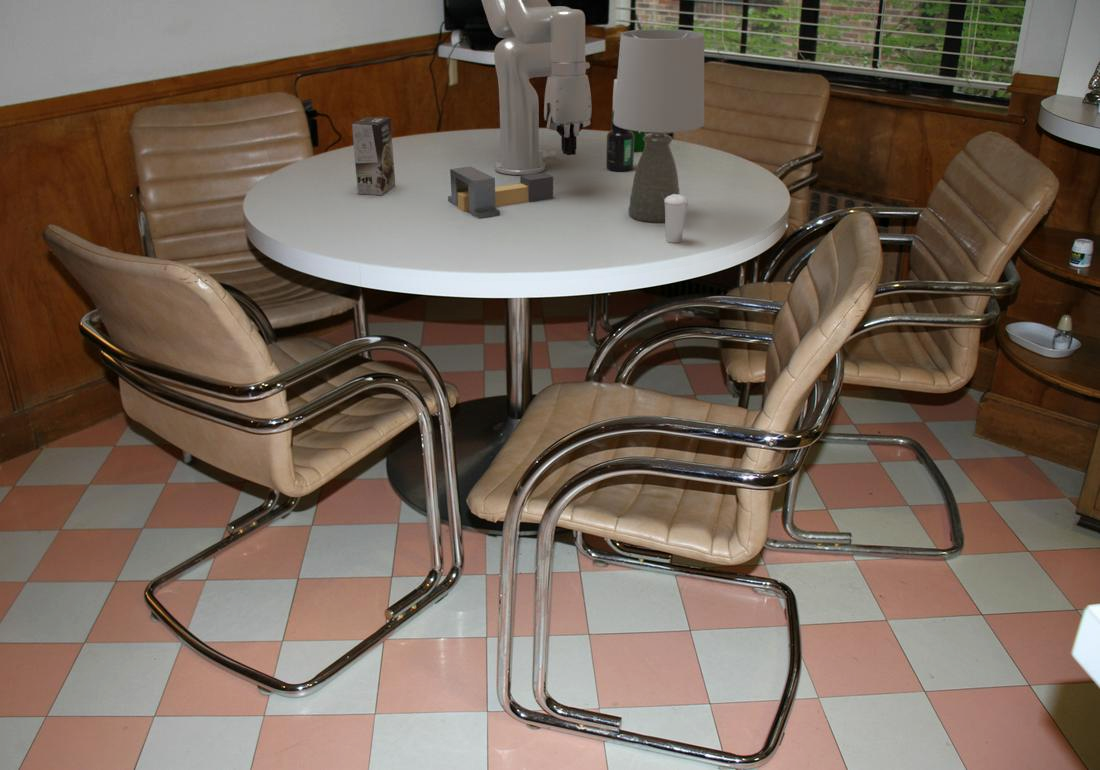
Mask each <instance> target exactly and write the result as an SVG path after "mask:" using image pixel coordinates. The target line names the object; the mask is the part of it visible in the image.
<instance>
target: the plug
mask: <svg viewBox="0 0 1100 770" xmlns="http://www.w3.org/2000/svg"><path fill="white" fill-rule="evenodd" d="M519 177H520V178H519V179H520V183H516V184H509V185H502V186H501V185H500V186H495V201H496V208H497V207H501V206H508V205H509V206H510V205H514V204H515V205H516V204H521V203H526V202H529V203H532V202H533V203H534V202H538V201H539V202H540V201H546V200H551V199H554V176H552V175H551V174H548V173H547V172H539V173H535V174H528V175H519ZM457 197H458V206H457V208H458V210H460V211H463V212H465V213H466V212H469V191H468V192H461V193H457Z"/></svg>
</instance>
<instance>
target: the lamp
mask: <svg viewBox="0 0 1100 770" xmlns="http://www.w3.org/2000/svg"><path fill="white" fill-rule="evenodd" d="M618 54H619V55H618V64H617V65H618V66H617V73H616V79H617V85H616V96H615V107H614V119H613V123H614V125H616V126H618V127H620V128H623V129H627V130H633V131H641V132H646V133H651V134H646V136H645V137H644V138H643V140H644V142H645V148H644V150H643V151H642V153H641V155H640V157H639V160H638V163H637V165H636V169H635V172H634V173H635V174H634V177H633V182H632V187H631V193H630V196H629V197H630V198H629V206H628V216H629V217H630V218H632V219H633V220H636V221H639V222H644V223H645V222H646V223H665V206H664V200H665V198H666V197H667V196H670V195H672V194H680V187H679V176H678V169H677V165H676V161H675V158H674V155H673V153H672V150H671V147H670V145H671V143H672V142H673V137H672V136H670V135H668V134H665V133H680V132H688V131H693V130H697V129H701V128H702V127H704V125H705V34H704V33H702V32H700V31H693V30H687V29H685V30H684V29H671V28H670V29H669V28H668V29H666V28H665V29H664V28H663V29H662V28H657V29H656V28H655V29H654V28H653V29H649V28H647V29H636V30H635V29H634V30H628V31H624V32H621V33H620V40H619V52H618ZM661 192H662V194H661ZM662 195H663V196H662ZM663 198H664V199H663Z"/></svg>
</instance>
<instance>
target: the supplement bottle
mask: <svg viewBox="0 0 1100 770" xmlns="http://www.w3.org/2000/svg"><path fill="white" fill-rule="evenodd" d="M610 129H611V130H610V131H608V132H607V134H606V156H605V157H606V160H605V164H606V169H607V170H608V171H610V172H617V173H619V172H620V173H623V172H630V171H632V170H633V169H634V161H635V160H634V158H635V156H634V155H635V152H634V134H633V132H632V131H630V130H627V129H623V128H620V127H618V126H616V125H614V123H613V120H612V119H611V120H610Z"/></svg>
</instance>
